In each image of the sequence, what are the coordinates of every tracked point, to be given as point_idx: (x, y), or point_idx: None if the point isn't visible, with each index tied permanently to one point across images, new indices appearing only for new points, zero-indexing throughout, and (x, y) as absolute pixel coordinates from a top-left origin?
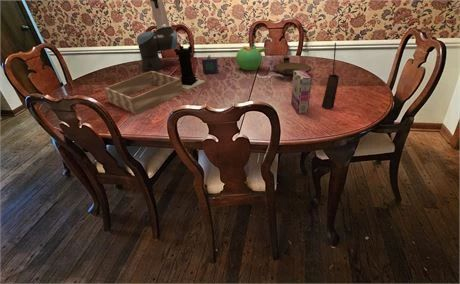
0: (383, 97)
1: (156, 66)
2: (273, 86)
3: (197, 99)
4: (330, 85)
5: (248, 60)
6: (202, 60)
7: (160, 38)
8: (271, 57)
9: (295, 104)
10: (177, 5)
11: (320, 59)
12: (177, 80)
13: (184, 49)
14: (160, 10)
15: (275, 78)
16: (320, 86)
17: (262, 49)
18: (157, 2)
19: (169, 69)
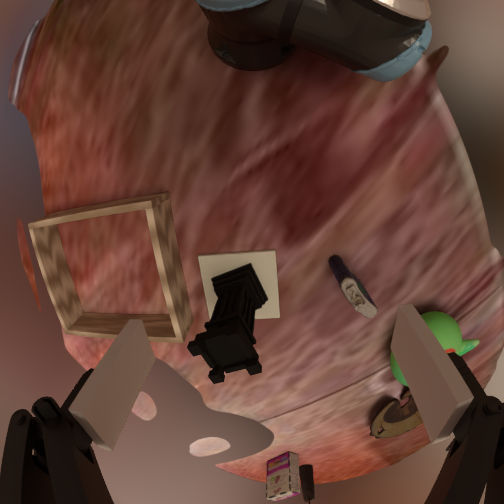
0: (357, 475)
1: (249, 66)
2: (337, 417)
3: (197, 364)
4: (302, 491)
5: (395, 377)
6: (339, 283)
7: (308, 27)
8: (496, 310)
9: (274, 464)
10: (412, 371)
11: (485, 381)
12: (171, 341)
13: (214, 377)
14: (138, 385)
15: (377, 400)
16: (366, 444)
17: None
18: (95, 435)
19: (288, 101)
